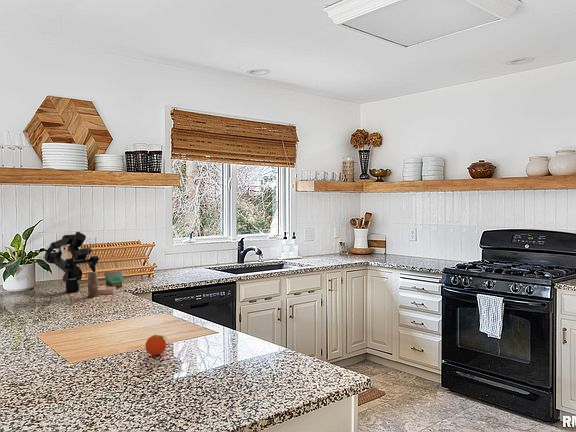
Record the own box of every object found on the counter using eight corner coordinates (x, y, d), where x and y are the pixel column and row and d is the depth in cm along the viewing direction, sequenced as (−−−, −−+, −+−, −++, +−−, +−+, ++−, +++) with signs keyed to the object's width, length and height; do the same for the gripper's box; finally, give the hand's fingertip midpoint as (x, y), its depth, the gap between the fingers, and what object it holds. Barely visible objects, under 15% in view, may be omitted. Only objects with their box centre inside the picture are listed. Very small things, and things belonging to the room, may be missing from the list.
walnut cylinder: (87, 297, 270) (86, 273, 270) (89, 295, 275) (88, 272, 275) (96, 297, 271) (96, 273, 270) (98, 295, 276) (98, 271, 275)
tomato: (171, 351, 176) (171, 331, 176) (167, 358, 169) (166, 337, 169) (148, 352, 176) (147, 332, 175) (143, 358, 169) (142, 337, 168)
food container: (110, 290, 291) (109, 272, 291) (104, 288, 295) (103, 271, 294) (128, 286, 301) (128, 270, 301) (122, 285, 305) (122, 269, 304)
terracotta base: (96, 294, 278) (96, 290, 278) (99, 291, 287) (99, 287, 287) (113, 293, 279) (112, 289, 279) (116, 290, 288) (115, 286, 288)
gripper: (65, 244, 272) (75, 266, 265) (97, 241, 286) (107, 262, 280) (58, 257, 277) (68, 279, 271) (90, 254, 291) (100, 275, 285)
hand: (87, 273), depth 276 cm, fingers open, 9 cm apart
